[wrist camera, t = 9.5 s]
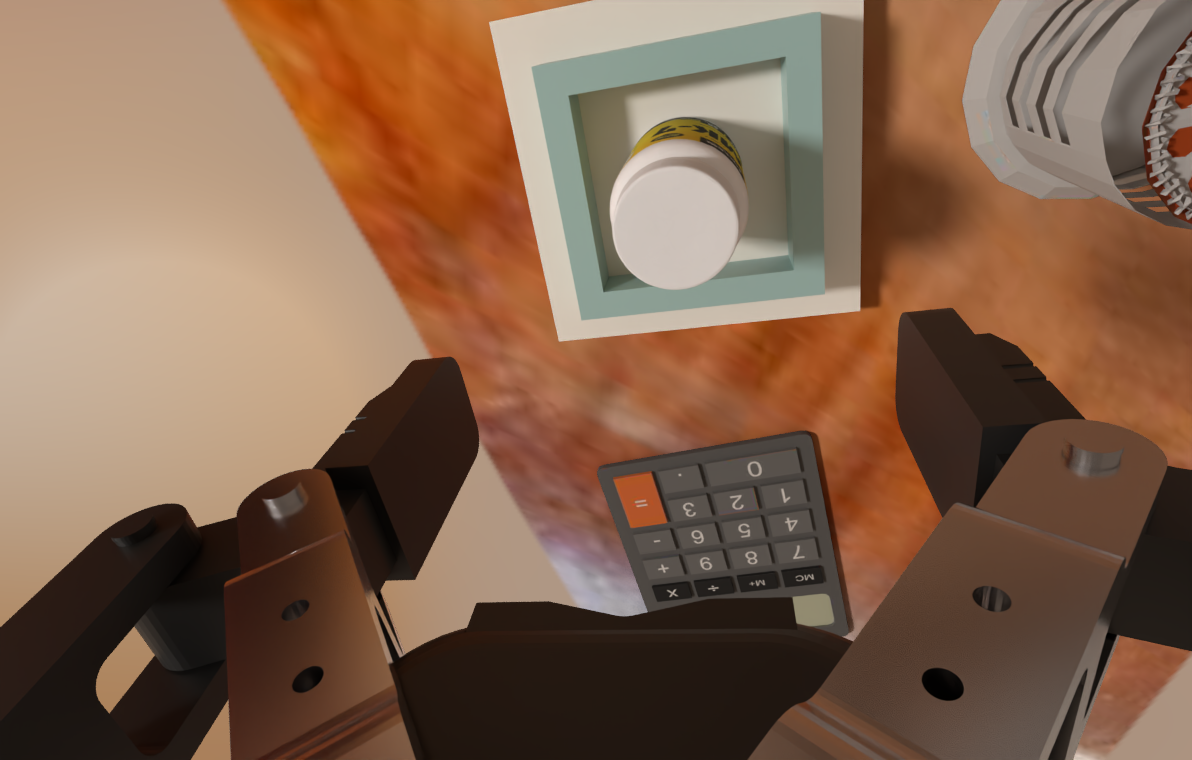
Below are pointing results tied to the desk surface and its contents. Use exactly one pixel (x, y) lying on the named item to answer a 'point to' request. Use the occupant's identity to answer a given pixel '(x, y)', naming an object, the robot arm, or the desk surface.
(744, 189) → the supplement bottle
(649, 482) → the calculator
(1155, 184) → the french press
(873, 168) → the desk surface
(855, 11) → the dock socket
